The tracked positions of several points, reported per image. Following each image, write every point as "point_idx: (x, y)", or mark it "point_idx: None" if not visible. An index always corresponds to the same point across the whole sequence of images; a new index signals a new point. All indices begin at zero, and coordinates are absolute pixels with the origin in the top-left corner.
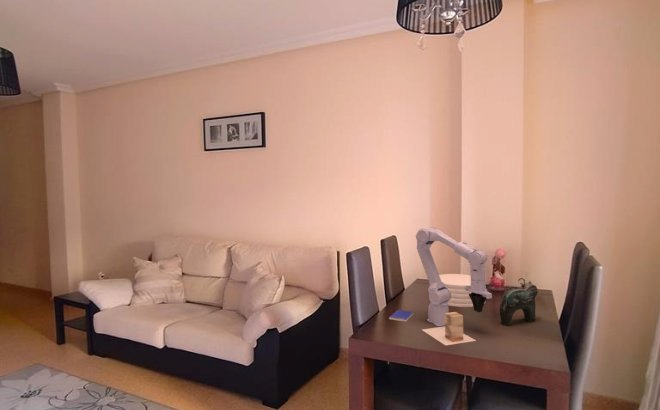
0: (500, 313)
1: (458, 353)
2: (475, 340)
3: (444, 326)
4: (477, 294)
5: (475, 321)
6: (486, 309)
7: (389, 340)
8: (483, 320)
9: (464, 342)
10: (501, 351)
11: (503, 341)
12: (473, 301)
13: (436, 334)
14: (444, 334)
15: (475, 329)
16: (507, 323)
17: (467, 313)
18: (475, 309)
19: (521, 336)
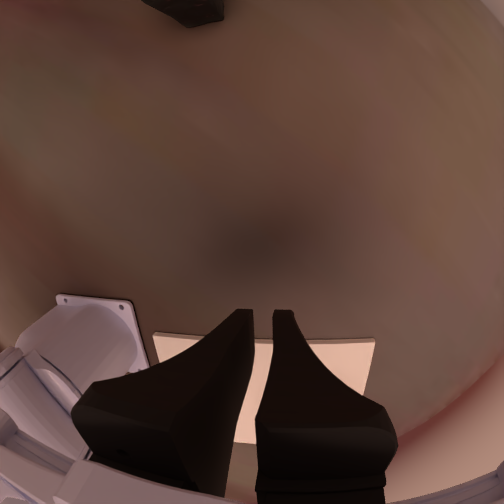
0: (160, 6)
1: (406, 427)
2: (373, 344)
3: (159, 359)
4: (199, 490)
5: (104, 149)
6: (21, 32)
7: (238, 494)
8: (104, 96)
9: (363, 390)
10: (485, 296)
11: (427, 204)
12: (232, 445)
13: (244, 428)
14: (253, 410)
15: (215, 228)
16: (221, 5)
17: (21, 133)
18: (253, 363)
19: (398, 54)
